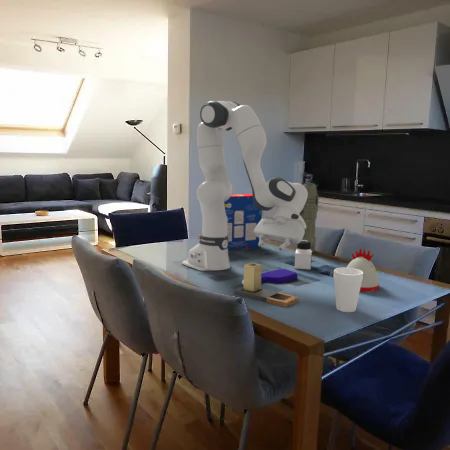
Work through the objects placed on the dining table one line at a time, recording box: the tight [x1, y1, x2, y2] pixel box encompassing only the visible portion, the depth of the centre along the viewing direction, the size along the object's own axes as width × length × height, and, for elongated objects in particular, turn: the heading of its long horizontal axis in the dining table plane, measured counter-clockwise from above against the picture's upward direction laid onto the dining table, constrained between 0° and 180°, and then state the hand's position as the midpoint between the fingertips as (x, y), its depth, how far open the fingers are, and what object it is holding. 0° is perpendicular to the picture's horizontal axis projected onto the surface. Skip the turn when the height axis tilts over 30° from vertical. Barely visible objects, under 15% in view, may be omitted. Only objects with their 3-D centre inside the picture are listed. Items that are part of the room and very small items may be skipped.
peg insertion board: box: [234, 285, 299, 308], centre depth 165 cm, size 22×8×2 cm, turn 51°
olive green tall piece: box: [299, 182, 319, 253], centre depth 237 cm, size 9×12×35 cm
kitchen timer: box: [345, 248, 380, 293], centre depth 180 cm, size 14×14×15 cm
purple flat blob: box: [241, 268, 298, 286], centre depth 185 cm, size 3×11×24 cm
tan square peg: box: [243, 262, 262, 293], centre depth 168 cm, size 4×4×11 cm
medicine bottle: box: [294, 240, 313, 270], centre depth 207 cm, size 7×7×12 cm
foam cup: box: [333, 267, 363, 313], centre depth 154 cm, size 10×9×13 cm
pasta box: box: [224, 193, 263, 252], centre depth 242 cm, size 28×8×28 cm, turn 117°
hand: (270, 247), depth 175 cm, fingers open, 8 cm apart
